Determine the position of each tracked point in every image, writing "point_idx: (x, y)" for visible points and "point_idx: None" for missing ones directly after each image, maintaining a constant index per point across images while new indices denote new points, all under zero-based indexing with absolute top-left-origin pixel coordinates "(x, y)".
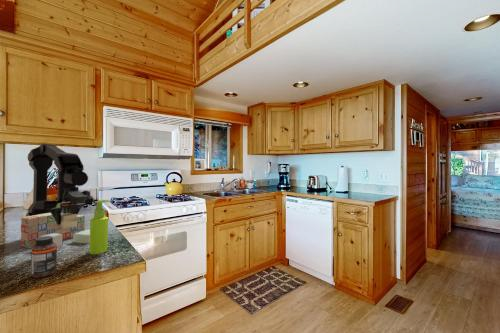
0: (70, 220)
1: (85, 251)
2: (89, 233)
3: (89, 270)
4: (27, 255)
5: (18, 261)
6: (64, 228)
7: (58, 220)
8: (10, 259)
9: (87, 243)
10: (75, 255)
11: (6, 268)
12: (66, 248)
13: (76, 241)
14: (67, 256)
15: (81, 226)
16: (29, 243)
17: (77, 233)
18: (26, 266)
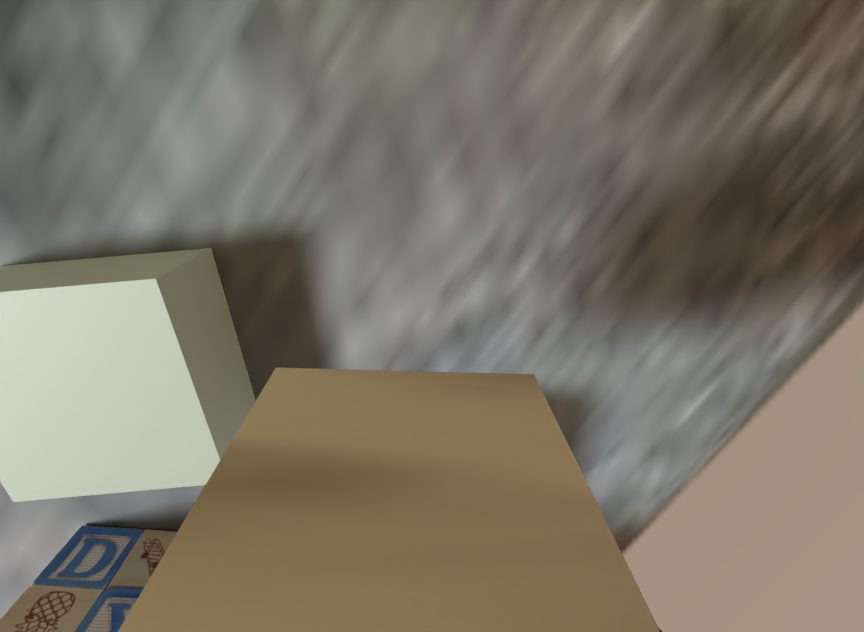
0: (410, 484)
1: (397, 15)
2: (111, 335)
3: None
4: (612, 426)
5: (726, 361)
6: (526, 378)
7: None
8: (694, 445)
9: (215, 263)
10: (530, 4)
11: (858, 296)
12: (403, 314)
13: (249, 395)
14: (573, 70)
15: (44, 613)
16: None
17: (199, 455)
18: (827, 192)
